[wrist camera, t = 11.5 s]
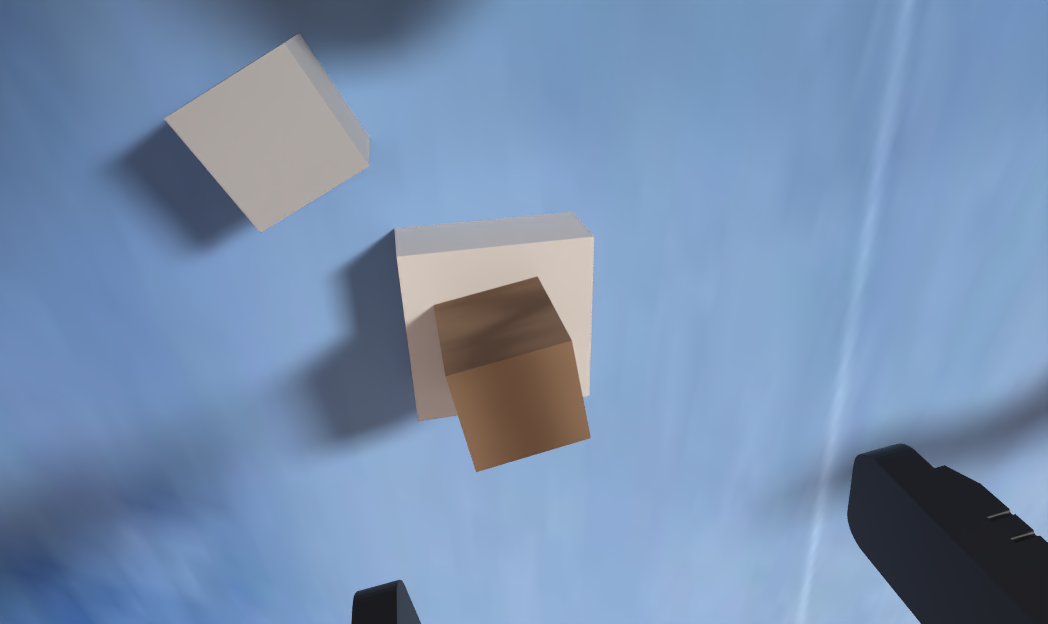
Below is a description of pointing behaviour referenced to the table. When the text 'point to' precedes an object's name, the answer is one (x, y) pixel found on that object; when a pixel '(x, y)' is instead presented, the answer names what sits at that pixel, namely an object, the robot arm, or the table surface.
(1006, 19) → the table surface
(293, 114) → the grey block
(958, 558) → the robot arm
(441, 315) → the walnut cube
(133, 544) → the table surface
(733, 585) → the table surface
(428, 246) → the base block
